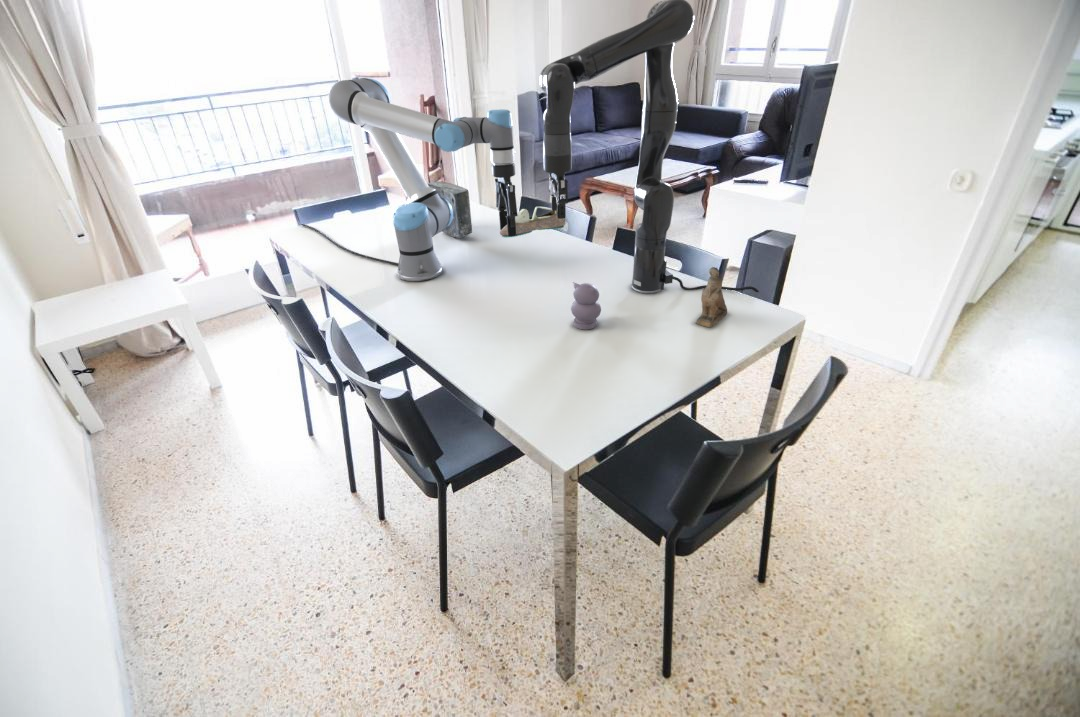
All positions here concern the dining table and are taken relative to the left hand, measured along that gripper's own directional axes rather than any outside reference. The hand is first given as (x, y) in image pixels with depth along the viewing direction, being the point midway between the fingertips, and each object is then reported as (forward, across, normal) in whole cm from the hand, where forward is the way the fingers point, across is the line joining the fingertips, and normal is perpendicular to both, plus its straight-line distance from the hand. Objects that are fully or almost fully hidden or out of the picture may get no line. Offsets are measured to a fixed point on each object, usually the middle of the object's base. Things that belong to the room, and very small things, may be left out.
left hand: (508, 232), depth 172 cm
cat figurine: (+13, -52, -4) cm, 53 cm away
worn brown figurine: (+13, -64, -37) cm, 75 cm away
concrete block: (+12, +48, +9) cm, 50 cm away
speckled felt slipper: (+1, 0, -9) cm, 9 cm away
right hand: (-14, -35, -4) cm, 38 cm away
